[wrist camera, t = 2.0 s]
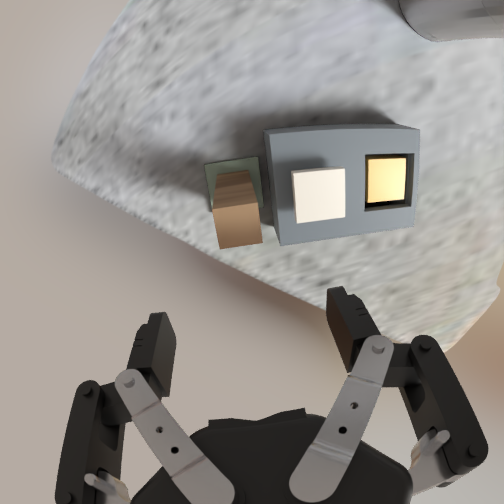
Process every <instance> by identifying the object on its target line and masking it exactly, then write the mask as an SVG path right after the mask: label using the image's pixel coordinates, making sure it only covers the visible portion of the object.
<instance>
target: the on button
mask: <svg viewBox="0 0 504 504" xmlns="http://www.w3.org/2000/svg"><path fill="white" fill-rule="evenodd" d="M291 175H292V188H293V201H294V215H295V221H296V223H305V222H312V221H320V220H327V219H335V218H343V217H345V168H343V167H342V166H338V167H326V168H315V169H305V170H295V171H291Z"/></svg>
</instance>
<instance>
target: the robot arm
mask: <svg viewBox="0 0 504 504" xmlns="http://www.w3.org/2000/svg"><path fill="white" fill-rule="evenodd" d="M399 4H400V8H401V10H402V13H403V15H404V17H405V19H406V20H407V22H408V23H409V24H410V26H411V27H412V28H413V29H414V30H415V31H416V32H417V33H418V34H420V35H421V36H422V37H424V38H426V39H428V40H431V41H435V42H440V41H451V40H463V39H479V38H504V0H399ZM326 316H327V321H328V325H329V327H330V330H331V332H332V334H333V337H334V340H335V342H336V345H337V347H338V350H339V352H340V355H341V358H342V360H343V363H344V365H345V368H346V370H347V373H349V372H351V374H350V375H348V377H347V378H346V380H345V382H344V384H343V387H342V389H341V391H340V393H339V395H338V397H337V399H336V401H335V403H334V405H333V407H332V409H331V411H330V412H329V414H328V416H327V418H325V417H323V416H319V415H314V414H306V412H305V408H301V409H296V410H290V411H284V412H280V413H277V414H274V415H272V416H269V417H267V418H264V419H261V420H258V421H251V420H243V419H234V418H228V419H216V420H209V426H208V427H205V428H203V429H200V430H198V431H196V432H195V433H193V434H192V435H191V436H190V437H188V436H187V434H186V433H185V432H184V431H183V429H182V428H181V427H180V426H179V425H178V423H177V422H176V421H175V419H174V418H173V417H172V416H171V414H170V413H169V412H168V410H167V409H166V408H165V407H164V405H163V404H162V403H161V399H162V397H169V395H170V387H171V379H172V371H173V364H174V356H175V350H176V336H175V333H174V330H173V328H172V325H171V323H170V321H169V318H168V316H167V314H166V312H159V313H151V314H150V317H149V320H148V323H147V324H143V325H142V326H141V327H140V329H139V330H138V331H137V333H136V337H135V341H134V343H133V348H132V350H131V354H130V358H129V361H128V365H127V369H126V370H124V371H123V372H121V373H120V374H119V375H118V376H117V377H116V379H115V382H112V383H109V384H106V385H102V386H100V385H99V384H98V383H97V382H96V381H93V380H89V381H85V382H83V383H82V384H80V385H79V387H78V388H77V390H76V393H75V397H74V401H73V404H72V408H71V412H70V416H69V420H68V424H67V429H66V433H65V438H64V443H63V447H62V452H61V458H60V464H59V469H58V475H57V482H56V490H55V501H56V504H410V501H411V498H412V496H413V495H416V494H419V493H421V492H424V491H426V490H429V489H431V488H433V487H435V486H436V487H446V486H448V485H450V484H451V483H453V482H455V481H456V480H458V479H459V478H461V477H463V476H464V475H466V474H467V473H469V472H470V471H472V470H473V469H475V468H476V467H477V466H479V465H480V464H481V463H483V461H484V460H485V459H486V457H487V454H488V444H487V441H486V439H485V436H484V434H483V432H482V429H481V427H480V425H479V422H478V420H477V418H476V416H475V413H474V411H473V409H472V407H471V405H470V403H469V401H468V399H467V397H466V395H465V393H464V391H463V389H462V387H461V385H460V383H459V381H458V379H457V377H456V375H455V373H454V371H453V369H452V368H451V366H450V364H449V362H448V360H447V358H446V357H445V355H444V353H443V351H442V350H441V348H440V346H439V344H438V343H437V341H436V340H435V339H434V338H432V337H431V336H428V335H419V336H416V337H415V338H414V339H413V340H412V342H411V344H397V343H392V341H391V340H390V339H389V338H387V337H385V336H382V335H381V334H380V332H379V330H378V328H377V326H376V325H375V323H374V321H373V319H372V317H371V316H370V314H369V312H368V310H367V309H366V308H365V305H364V303H363V302H362V300H361V299H360V298H358V297H357V296H356V295H354V294H352V295H347V293H346V291H345V289H344V287H343V286H339V287H334V288H328V289H327V304H326ZM382 387H398V388H399V390H400V393H401V395H402V398H403V400H404V403H405V406H406V408H407V411H408V414H409V416H410V419H411V422H412V425H413V428H414V430H415V434H416V437H417V439H418V442H417V444H416V445H415V446H414V447H413V449H412V452H411V460H412V462H411V467H410V469H409V470H407V469H406V468H405V467H404V466H403V465H401V464H400V463H398V462H396V461H394V460H393V459H391V458H389V457H388V456H386V455H384V454H382V453H381V452H379V451H378V450H376V449H375V448H373V447H371V446H369V445H368V444H367V443H365V442H363V441H362V440H361V437H362V435H363V433H364V431H365V429H366V426H367V424H368V422H369V419H370V417H371V414H372V411H373V409H374V407H375V404H376V401H377V399H378V396H379V393H380V390H381V388H382ZM131 421H133V422H134V424H135V425H136V427H137V429H138V430H139V432H140V433H141V435H142V437H143V438H144V439H145V441H146V443H147V444H148V446H149V447H150V448H151V450H152V451H153V453H154V454H155V456H156V457H157V459H158V460H159V461H160V463H161V464H162V465H163V466H162V467H161V468H160V469H159V471H157V473H156V474H155V475H154V476H153V477H152V478H151V479H150V480H149V481H148V482H147V483H146V484H145V485H144V486H143V488H141V489H140V490H139V491H138V493H136V495H135V496H134V497H133V498H132V500H130V498H129V495H128V489H127V487H126V485H125V484H124V483H123V482H122V481H120V474H121V461H122V450H123V440H124V431H125V423H127V422H131Z"/></svg>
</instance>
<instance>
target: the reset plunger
mask: <svg viewBox="0 0 504 504" xmlns="http://www.w3.org/2000/svg"><path fill="white" fill-rule="evenodd" d="M405 172H406V158H404V157H402V156H399V155H369V156H365V201H366V202H368V203H371V202H380V201H390V200H400V199H404V191H405Z"/></svg>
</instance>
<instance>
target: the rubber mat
mask: <svg viewBox="0 0 504 504" xmlns="http://www.w3.org/2000/svg"><path fill="white" fill-rule="evenodd" d="M204 168H205V173H206V179H207V184H208V190H209V195H210V200H211V206H213V199H214V192H215V185H216V178H217V174H223V173H230V172H236V171H243V170H248V171H249V174H250V178H251V181H252V185H253V188H254V192H255V195H256V199H257V202H258V208H263V207H264V203H263V195H262V187H261V178H260V170H259V162H258V157H251V158H244V159H237V160H230V161H224V162H217V163H211V164H205V165H204Z"/></svg>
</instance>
